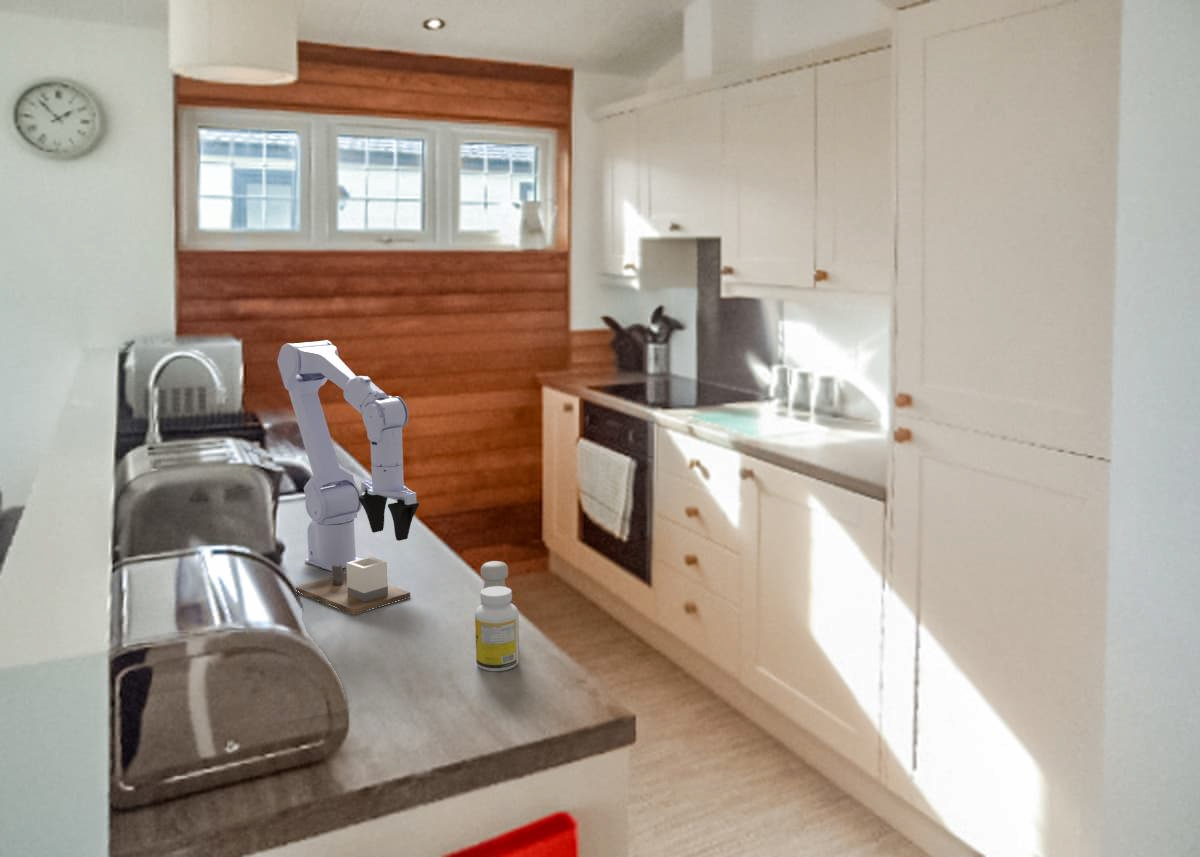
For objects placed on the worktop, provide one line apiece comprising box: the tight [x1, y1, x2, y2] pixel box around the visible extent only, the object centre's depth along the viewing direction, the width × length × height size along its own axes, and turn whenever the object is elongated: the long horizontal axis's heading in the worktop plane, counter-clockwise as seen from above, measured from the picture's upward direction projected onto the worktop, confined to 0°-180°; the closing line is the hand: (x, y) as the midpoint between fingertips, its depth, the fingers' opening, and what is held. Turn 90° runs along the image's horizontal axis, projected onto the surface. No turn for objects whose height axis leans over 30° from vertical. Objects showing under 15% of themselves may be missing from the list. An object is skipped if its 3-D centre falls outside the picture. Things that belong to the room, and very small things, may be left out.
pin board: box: [295, 564, 411, 616], centre depth 193 cm, size 18×12×4 cm, turn 48°
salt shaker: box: [480, 560, 509, 605], centre depth 170 cm, size 6×6×13 cm
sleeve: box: [346, 555, 389, 601], centre depth 190 cm, size 5×5×6 cm
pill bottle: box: [474, 586, 520, 672], centre depth 161 cm, size 6×6×12 cm
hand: (389, 535), depth 199 cm, fingers open, 7 cm apart
